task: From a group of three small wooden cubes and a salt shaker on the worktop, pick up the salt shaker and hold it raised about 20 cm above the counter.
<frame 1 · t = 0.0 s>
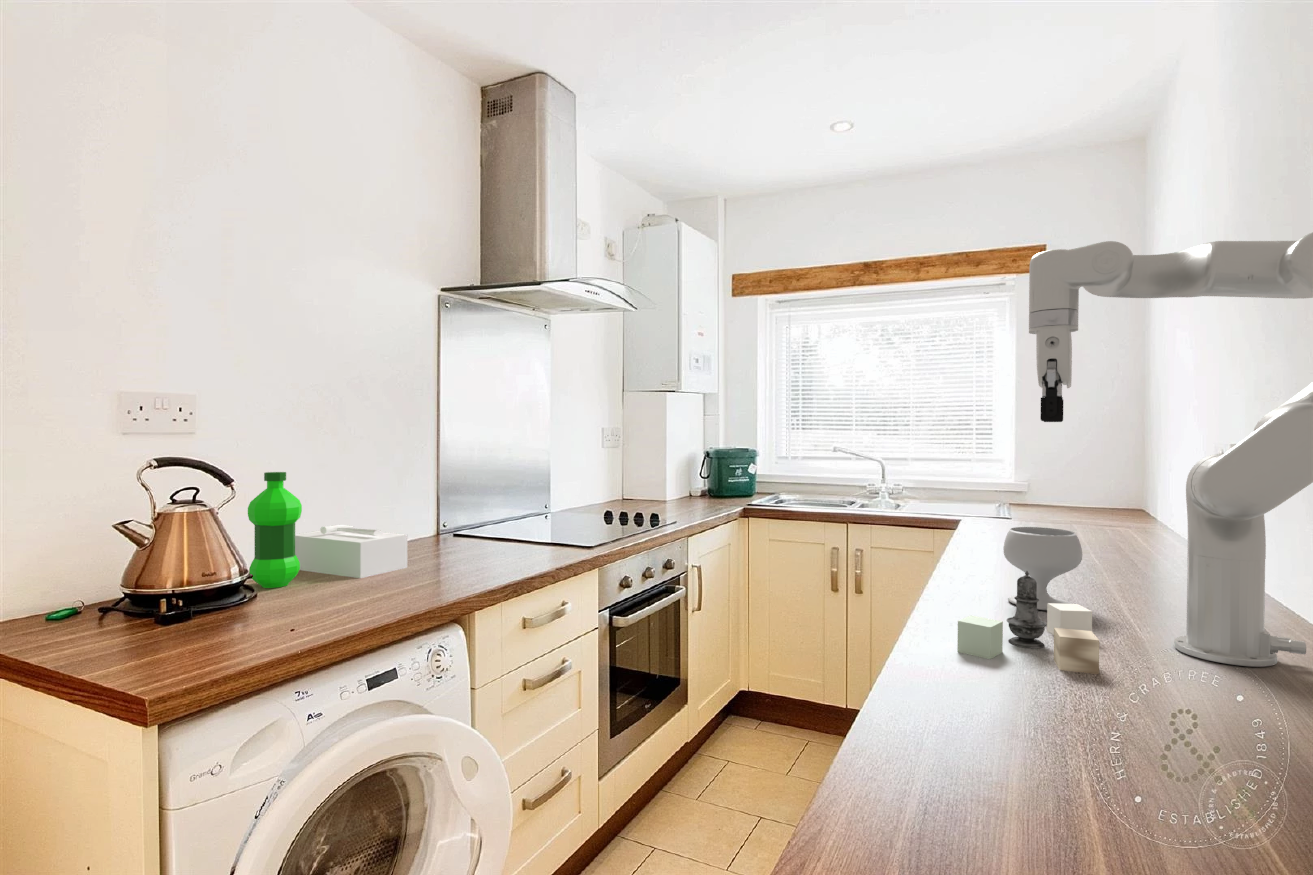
hand: (1052, 421, 122), 37 cm above the countertop, fingers open, 9 cm apart
tissue box: (348, 569, 175), on the countertop
beech cube: (1075, 667, 104), on the countertop
salt shaker: (1026, 644, 116), on the countertop
chalice: (1041, 605, 142), on the countertop
cream painted cube: (1068, 636, 120), on the countertop
plastic bottle: (275, 586, 155), on the countertop
sage painted cube: (979, 652, 111), on the countertop
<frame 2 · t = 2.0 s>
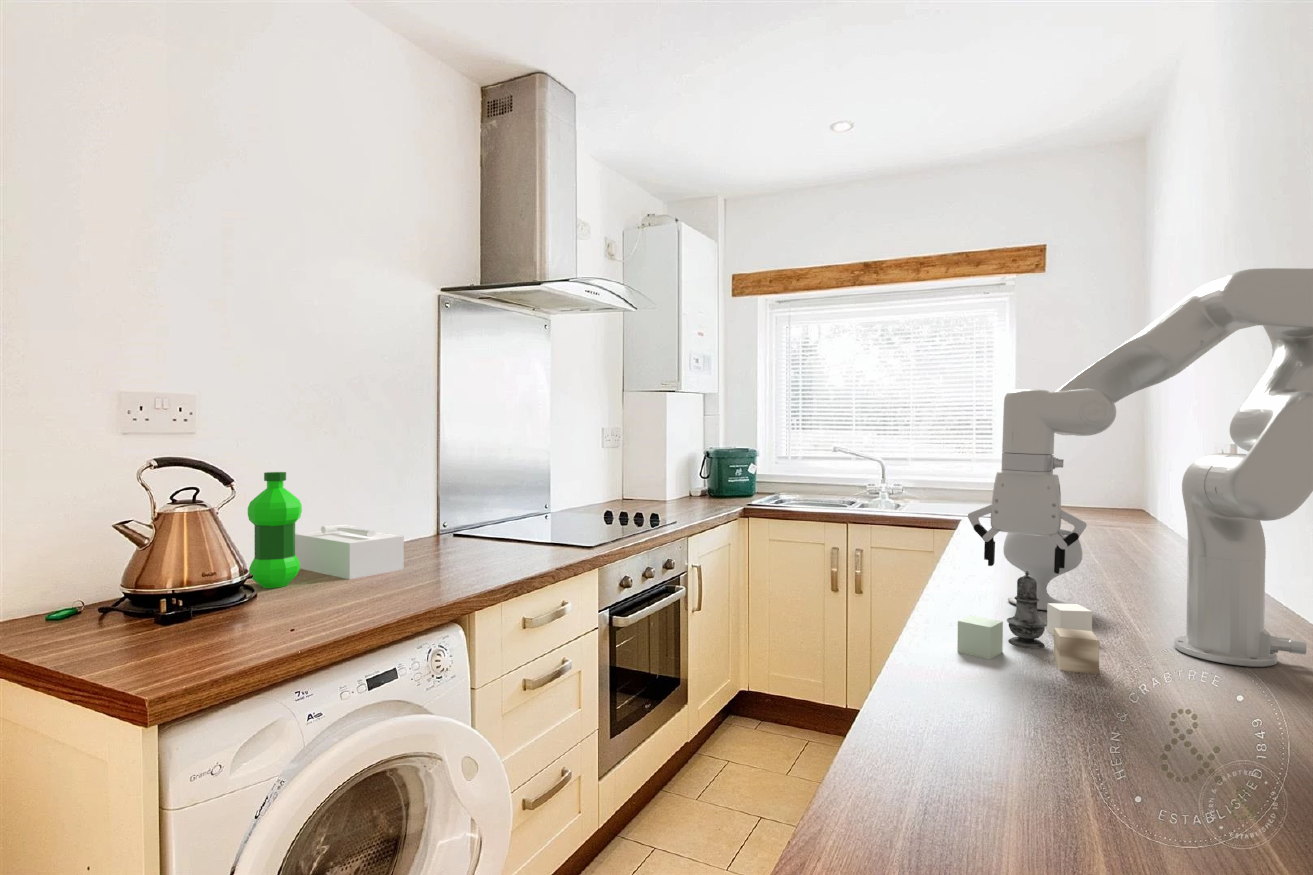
hand: (1023, 568, 116), 12 cm above the countertop, fingers open, 9 cm apart
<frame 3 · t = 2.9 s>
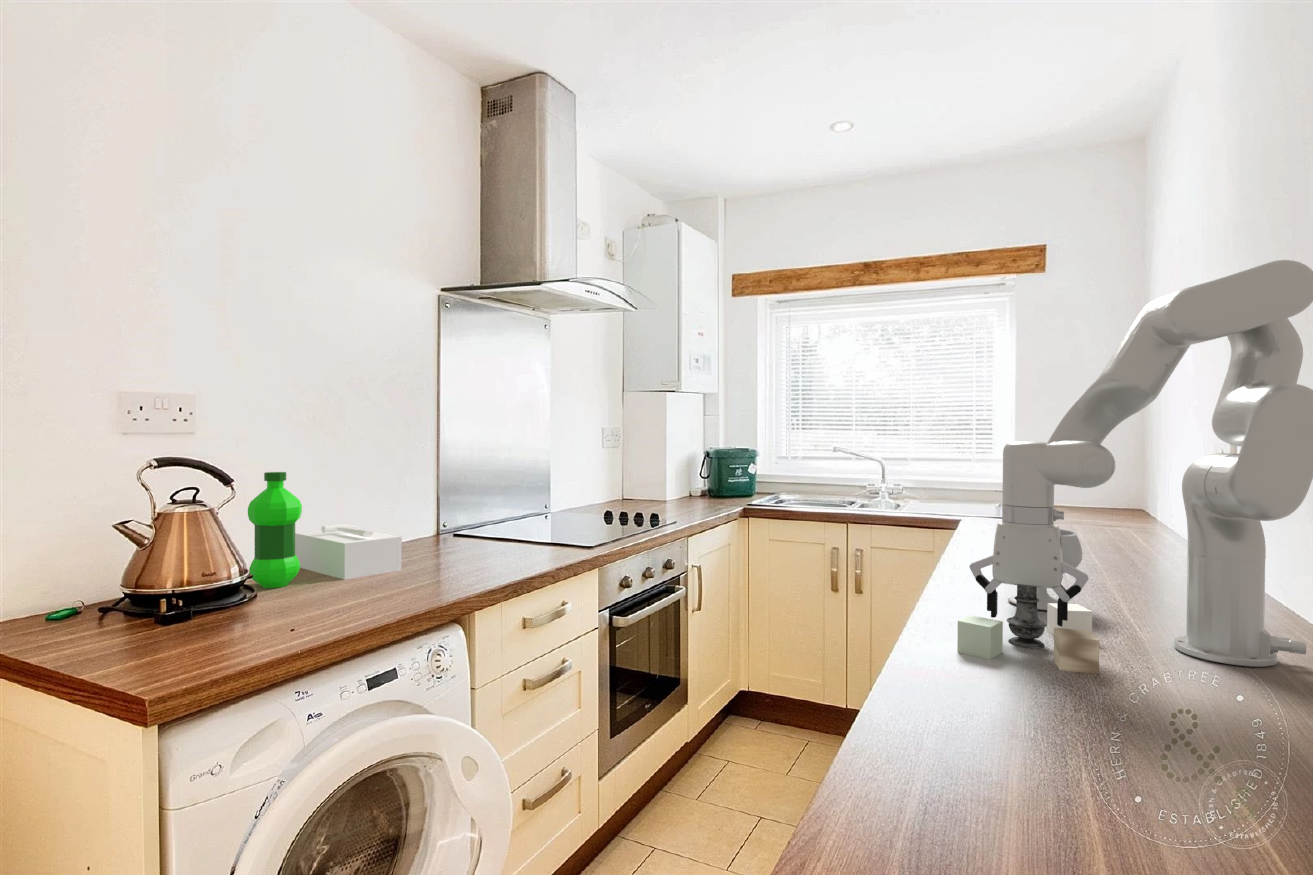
hand: (1026, 619, 115), 4 cm above the countertop, fingers open, 9 cm apart
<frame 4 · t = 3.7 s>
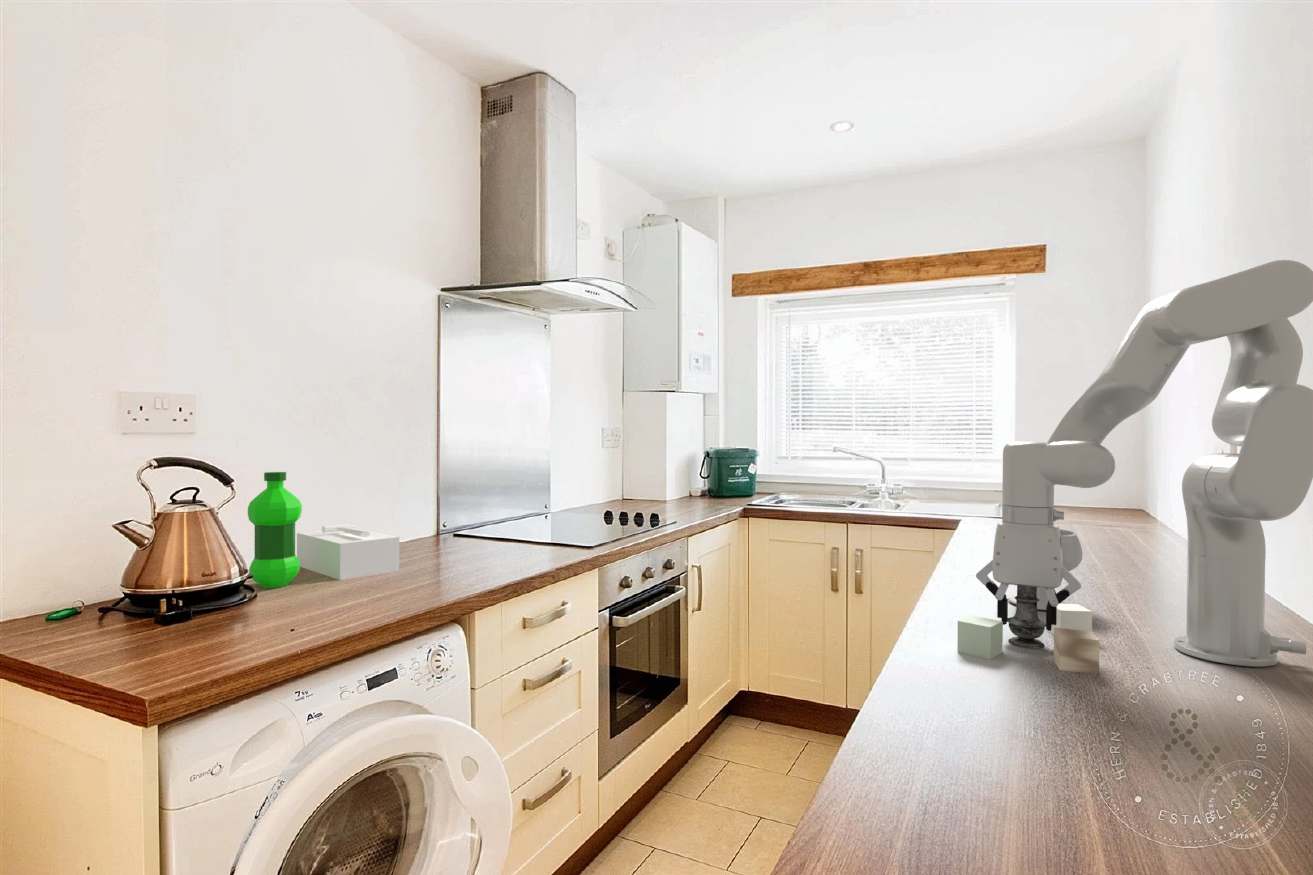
hand: (1026, 624, 115), 3 cm above the countertop, fingers closed on salt shaker, 5 cm apart
salt shaker: (1026, 644, 116), on the countertop, touching gripper
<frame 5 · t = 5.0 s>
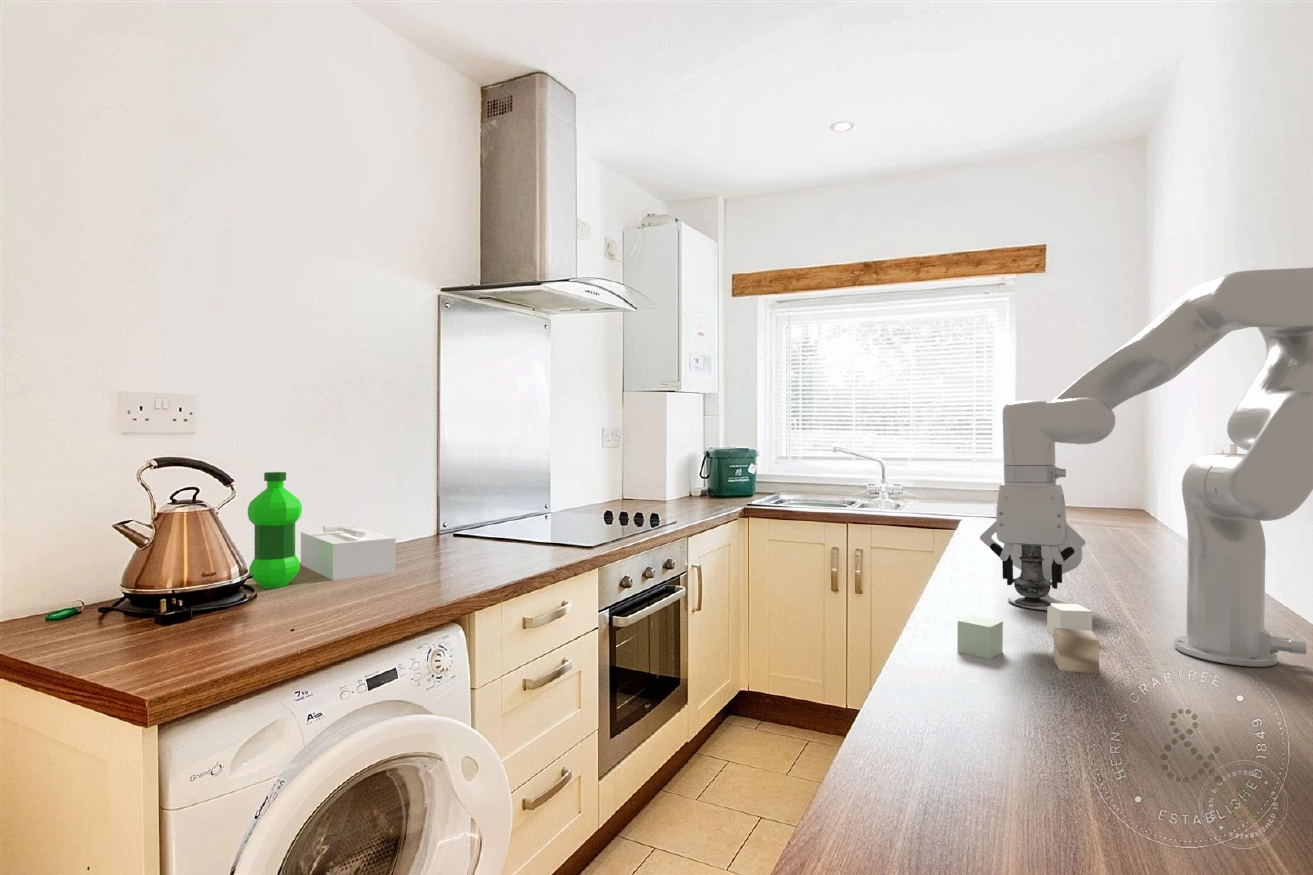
hand: (1032, 584, 115), 10 cm above the countertop, fingers closed on salt shaker, 5 cm apart
salt shaker: (1032, 604, 115), point 6 cm above the countertop, touching gripper
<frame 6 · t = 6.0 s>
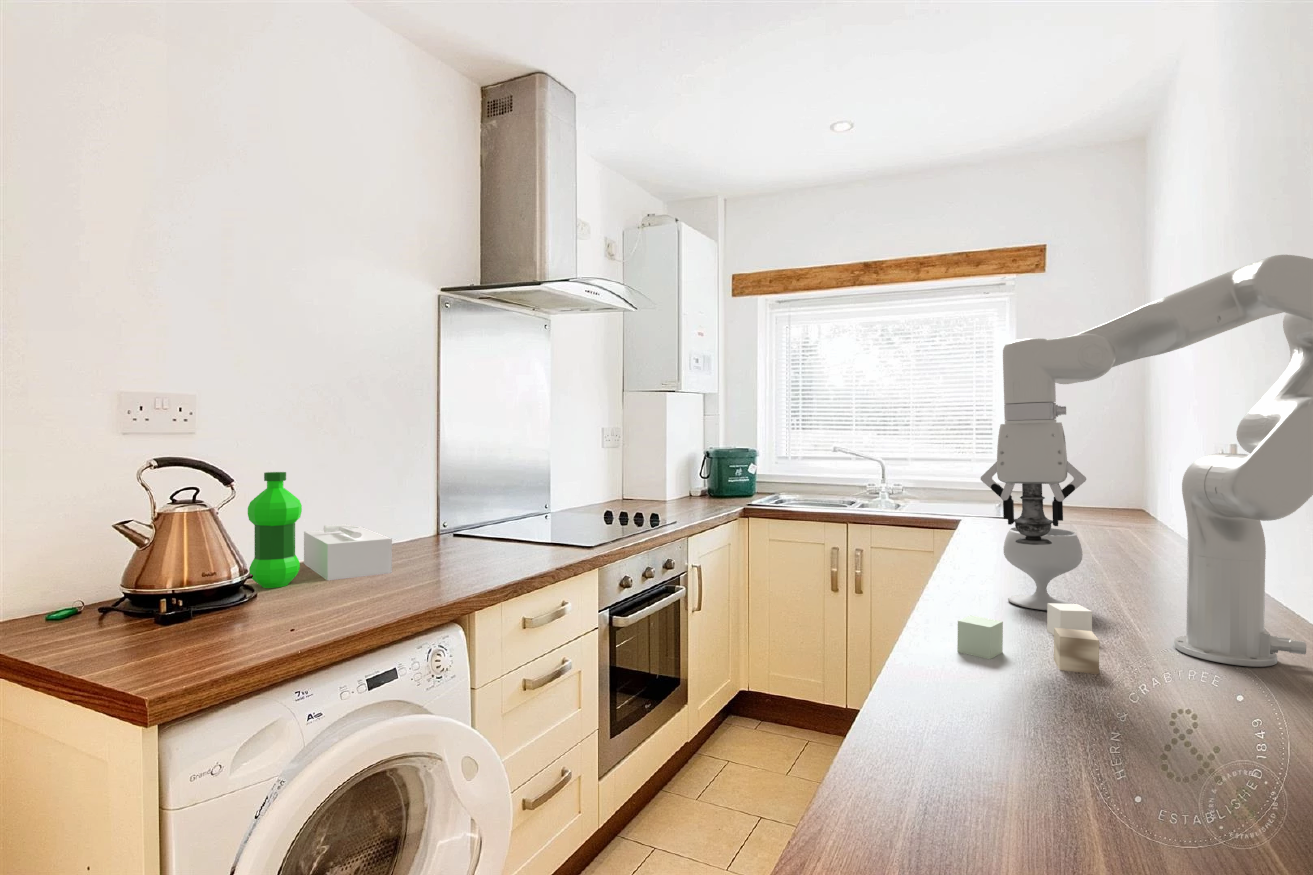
hand: (1033, 523, 115), 20 cm above the countertop, fingers closed on salt shaker, 5 cm apart
salt shaker: (1033, 543, 115), point 17 cm above the countertop, touching gripper
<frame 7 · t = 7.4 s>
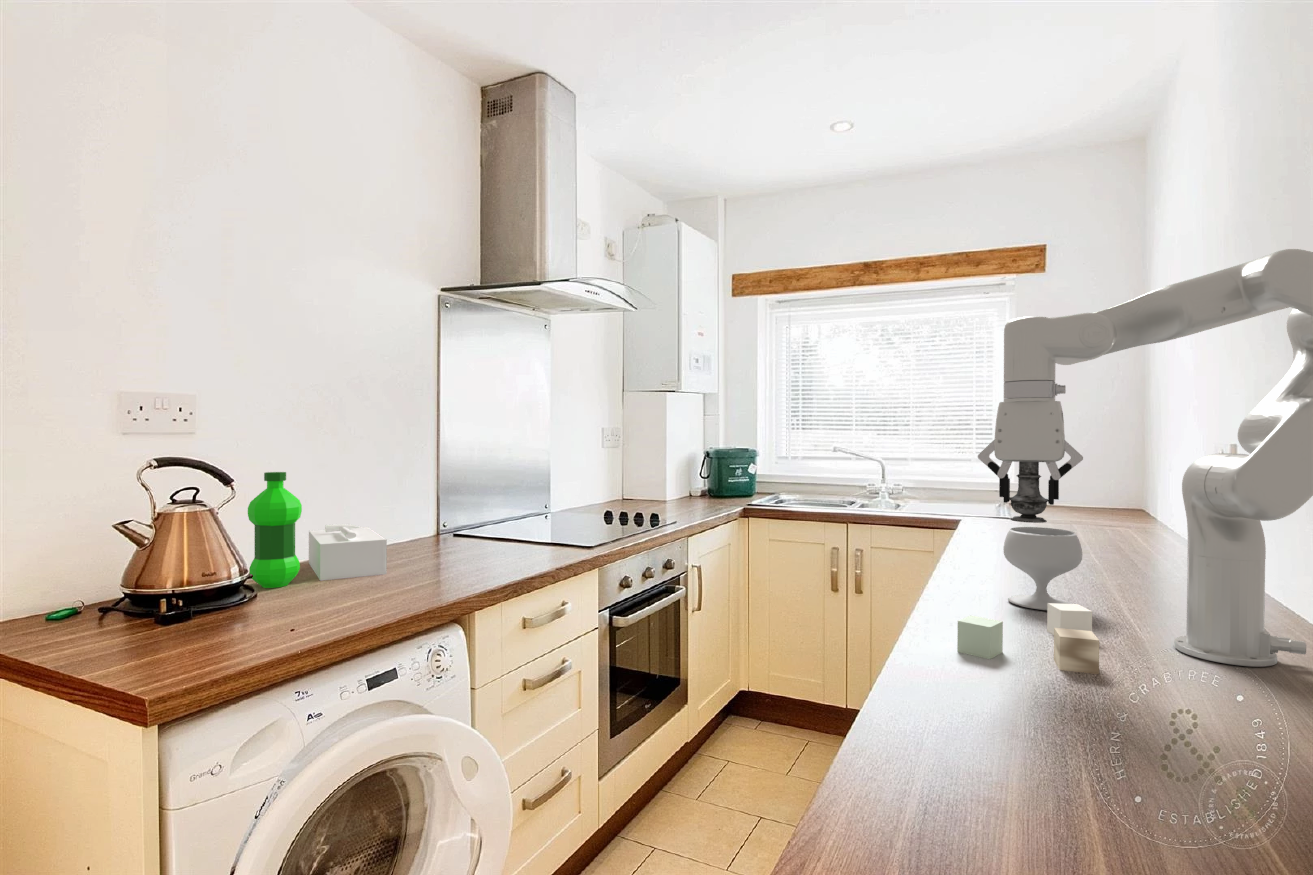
hand: (1028, 501, 115), 23 cm above the countertop, fingers closed on salt shaker, 5 cm apart
salt shaker: (1028, 521, 115), point 20 cm above the countertop, touching gripper
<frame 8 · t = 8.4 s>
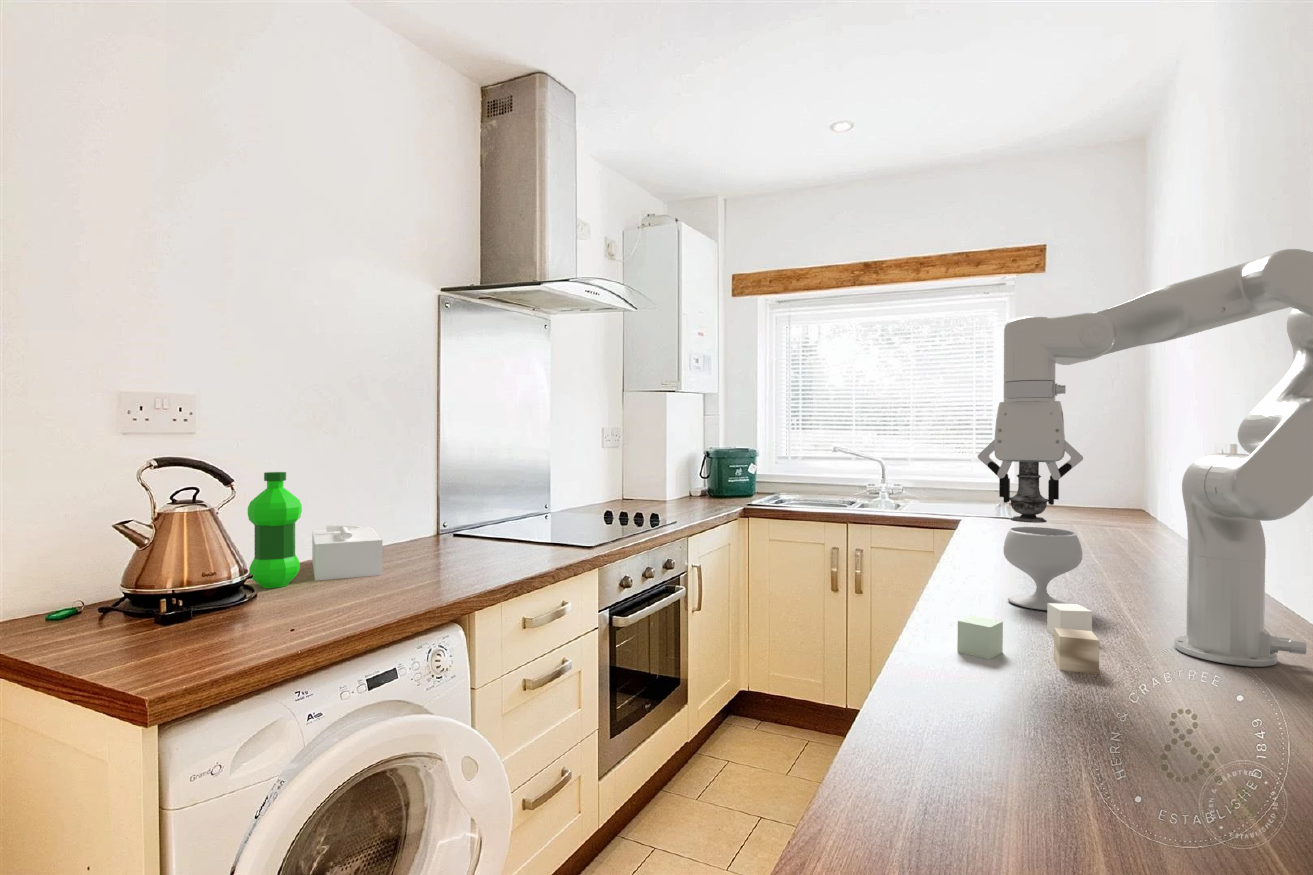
hand: (1028, 501, 115), 23 cm above the countertop, fingers closed on salt shaker, 5 cm apart
salt shaker: (1028, 521, 115), point 20 cm above the countertop, touching gripper
at the end: the gripper is holding salt shaker; salt shaker point 20.1 cm above the countertop; cream painted cube moved 0.1 cm from its start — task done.
